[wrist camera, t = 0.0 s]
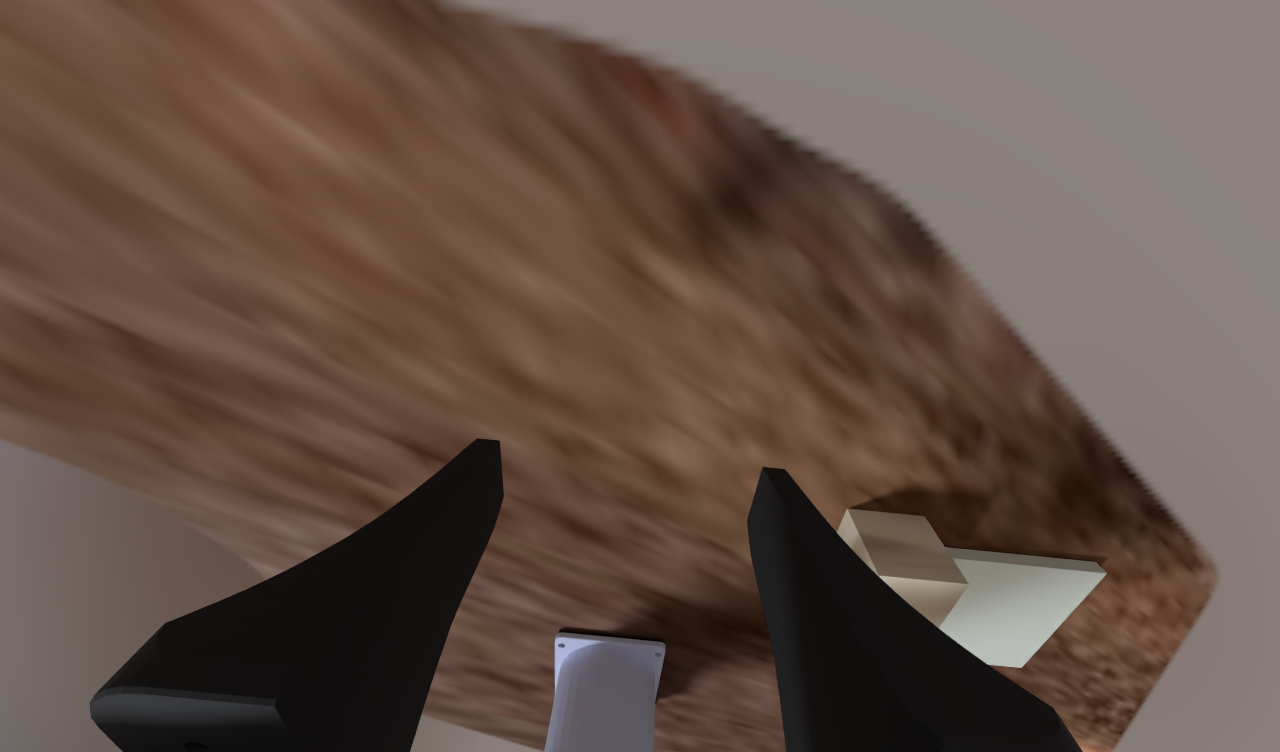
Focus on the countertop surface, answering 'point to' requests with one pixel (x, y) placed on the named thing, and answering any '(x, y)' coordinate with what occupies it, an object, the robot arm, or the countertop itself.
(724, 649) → the countertop surface
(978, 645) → the baseplate
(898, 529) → the brick base
